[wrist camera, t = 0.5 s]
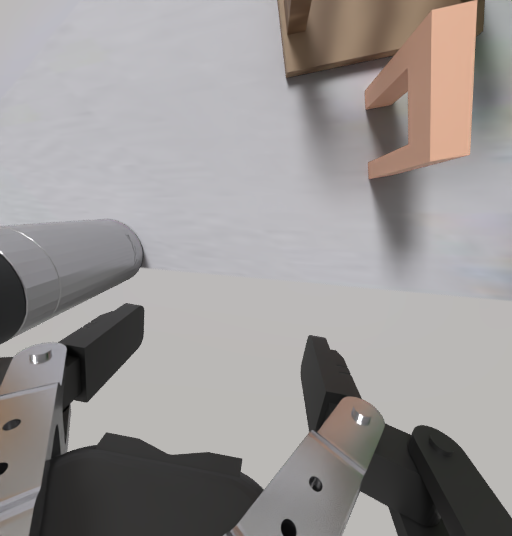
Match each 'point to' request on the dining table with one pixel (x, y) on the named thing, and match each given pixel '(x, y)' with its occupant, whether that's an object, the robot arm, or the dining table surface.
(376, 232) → the dining table surface
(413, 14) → the wooden rack with bar
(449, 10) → the pink c-shaped hook
